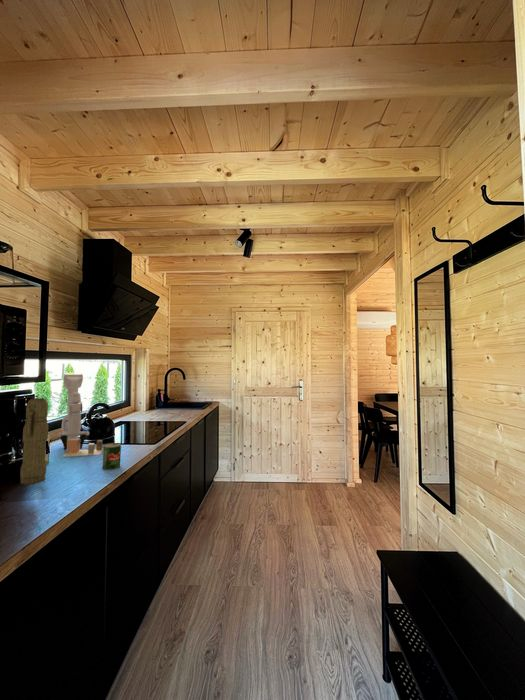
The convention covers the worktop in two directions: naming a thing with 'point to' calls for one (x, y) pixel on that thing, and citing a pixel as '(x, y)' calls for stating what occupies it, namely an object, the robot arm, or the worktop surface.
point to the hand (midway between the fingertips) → (73, 448)
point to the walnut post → (99, 445)
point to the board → (83, 453)
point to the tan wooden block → (73, 445)
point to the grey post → (91, 448)
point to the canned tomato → (111, 456)
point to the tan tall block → (34, 442)
